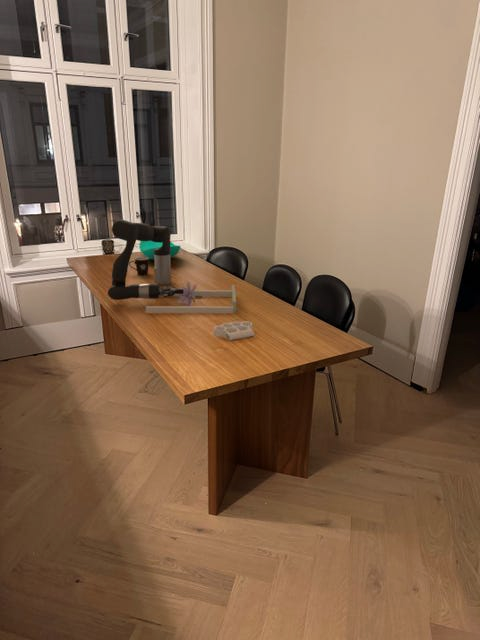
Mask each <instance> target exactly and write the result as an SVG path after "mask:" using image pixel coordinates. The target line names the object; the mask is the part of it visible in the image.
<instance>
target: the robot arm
mask: <svg viewBox="0 0 480 640" xmlns="http://www.w3.org/2000/svg"><path fill="white" fill-rule="evenodd" d="M111 226H112V227H111V232H112V235H113V236H114V237H115V238H117V239H119V240H123V241H125V244H126V245H125V247H124V249H123V251H121V253H120V254H119V255H118V256H117V258H115V260H114V262H113V265H112V266H113V267H112V271H111V279H112V281H111V285H110V287H109V289H108V291H107V295H108V298H110V299H112V300H115V301H121V300H122V301H123V300H127V299H128V300H129V299H144V300H147V299H149V300H153V299H154V300H156V299H157V300H158V299H159V298H160V297H163V298H169V297H175V296H174V295H175V294H183V293H184V290H183V289H182V288H176V287H175V286H171V285H169V284H172V269H171V268H172V267H171V265H172V264H171V258H170V242H171V230H170V227H168V226H163V225H162V226H160V225H152V226H151V225H150V224H148V223H141V222H133V221H132V222H131V221H128V220H125V219H117V220H115V222H114V223H113V224H112V225H111ZM137 241H138V242H140V241H153V242H160V243H163V244H162V247H159V248H156V249H155V250H154V260H153V261H154V267H153V268H154V270H153V271H154V283H140V284H138V283H137V284H136V283H135V284H129V285H127V286H126V282H127V281H126V279H127V274H128V269H129V262H130V261H131V257H132V254H133V251H134V248H135V245H136V242H137ZM160 285H166V286H162V287H160ZM159 295H160V296H159Z"/></svg>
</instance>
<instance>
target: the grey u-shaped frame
mask: <svg viewBox="0 0 480 640" xmlns="http://www.w3.org/2000/svg"><path fill="white" fill-rule="evenodd" d="M235 286H236V285H235V284H231V290H227V289H226V290H215V289H214V290H213V289H211V290H206V289H205V290H203V289H200V290H199V289H198V290H197V289H195V291H194V293H193V294H195V295H196V296H195V297H194V298H193V299H203V297H216V298H217V297H218V298H219V297H223V298H224V297H231V304H232V305H231V306H219V305H218V306H214V305H213V306H205V305H204V306H203V305H202V306H201V305H200V306H199V305H198V306H197V305H196V306H194V305H193V306H192V305H191V306H188V305H187V306H184V305H183V306H181V305H179V306H178V305H177V306H176V305H173V306H169V305H166V306H165V305H164V306H163V305H161V306H159V305H155V306H153V305H150V306H149V305H147V306H145V314H237V296H236V288H235ZM191 292H192V289H191ZM193 294H192V295H193ZM192 295H191V296H192ZM159 297H161V296H160V295H159ZM173 297H182V295H180V294H175V295H174V296H173Z"/></svg>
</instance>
